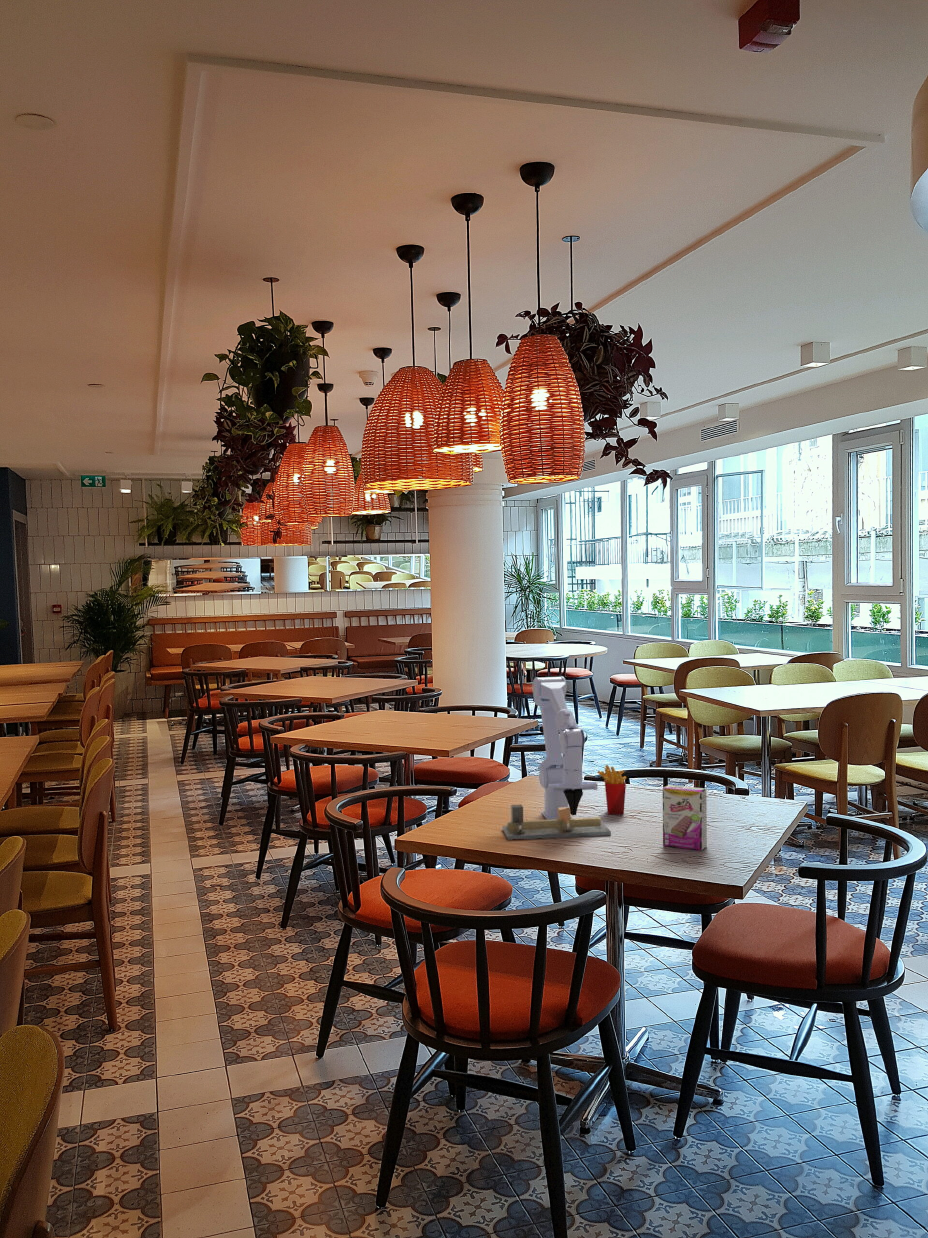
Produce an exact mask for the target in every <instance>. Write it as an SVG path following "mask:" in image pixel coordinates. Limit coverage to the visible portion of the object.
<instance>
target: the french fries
mask: <svg viewBox="0 0 928 1238" xmlns="http://www.w3.org/2000/svg"><path fill="white" fill-rule="evenodd" d="M604 767H605V769H604V770H601V771H600V770H598V771H596V772H597V774H599V775H600V776H601V777H602V778H603V779H604V780H603V781H604V787H605V788H604V790H605V798H606V808H607V809H606V810H607V815H609V816H610V815H611V816H614V815H615V816H619V814H620V816H622V815H623V814H625V812H624V811H625V800H626V788H627V787H626V786H627V785H626V781H625V780H626V779H627V776H626V775H625V776H622V775H623V774H624V773H625V772H626V771H625V769H623V770H622V771H621V770H618V771H617V770H615V768H614V766H609V765H608V764H606V765H605V766H604Z"/></svg>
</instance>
